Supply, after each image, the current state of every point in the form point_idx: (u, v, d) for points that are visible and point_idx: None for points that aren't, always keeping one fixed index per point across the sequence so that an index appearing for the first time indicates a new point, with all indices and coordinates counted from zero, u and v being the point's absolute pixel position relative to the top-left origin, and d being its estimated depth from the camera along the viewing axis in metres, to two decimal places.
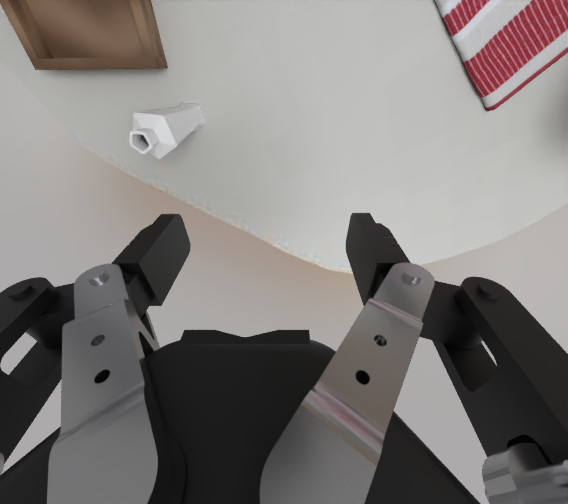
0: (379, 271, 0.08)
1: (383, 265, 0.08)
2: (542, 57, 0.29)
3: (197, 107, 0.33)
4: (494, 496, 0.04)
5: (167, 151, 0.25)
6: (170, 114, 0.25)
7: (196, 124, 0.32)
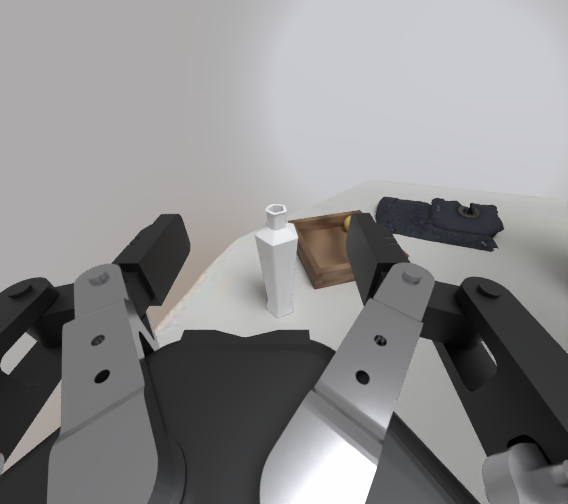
0: (379, 271, 0.08)
1: (383, 265, 0.08)
2: None
3: (291, 309, 0.31)
4: (494, 496, 0.04)
5: (264, 239, 0.23)
6: None
7: (279, 301, 0.29)
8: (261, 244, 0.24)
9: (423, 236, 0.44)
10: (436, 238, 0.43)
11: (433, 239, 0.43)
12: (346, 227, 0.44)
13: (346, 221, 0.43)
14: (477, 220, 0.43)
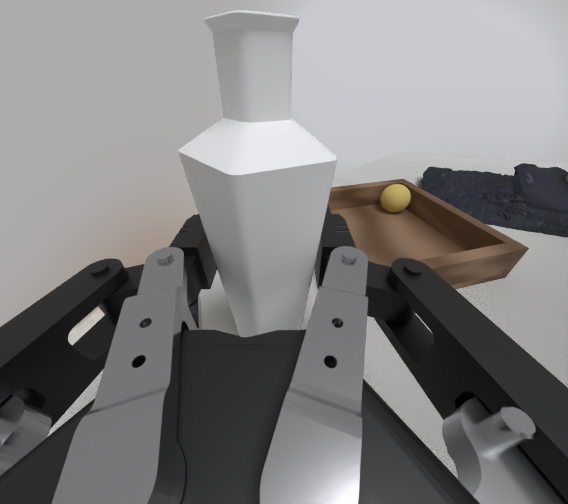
0: (325, 255, 0.08)
1: (328, 249, 0.08)
2: None
3: None
4: (457, 457, 0.05)
5: (206, 157, 0.06)
6: (322, 226, 0.07)
7: None
8: (201, 185, 0.07)
9: (512, 222, 0.26)
10: (537, 226, 0.25)
11: (531, 227, 0.25)
12: (385, 204, 0.26)
13: (386, 193, 0.26)
14: None
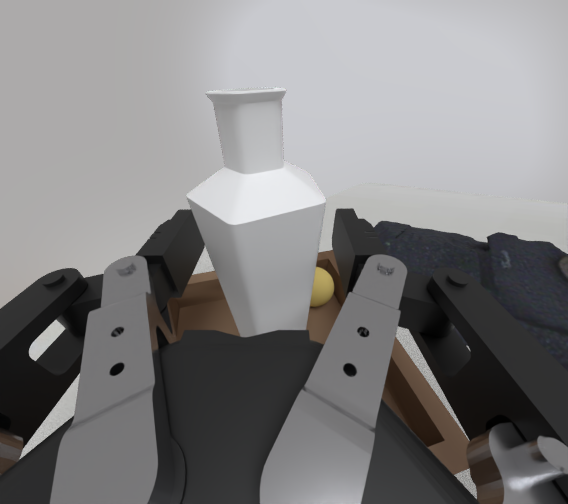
0: (357, 263, 0.08)
1: (361, 257, 0.08)
2: None
3: None
4: (479, 479, 0.04)
5: (210, 205, 0.07)
6: (316, 256, 0.08)
7: None
8: (206, 226, 0.07)
9: None
10: None
11: None
12: None
13: None
14: None
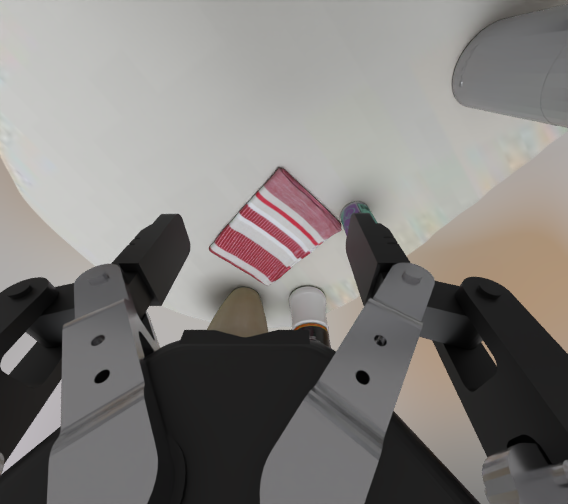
0: (379, 271, 0.08)
1: (383, 265, 0.08)
2: (237, 260, 0.51)
3: None
4: (494, 496, 0.04)
5: None
6: None
7: None
8: None
9: None
10: None
11: None
12: None
13: None
14: None
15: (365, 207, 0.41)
